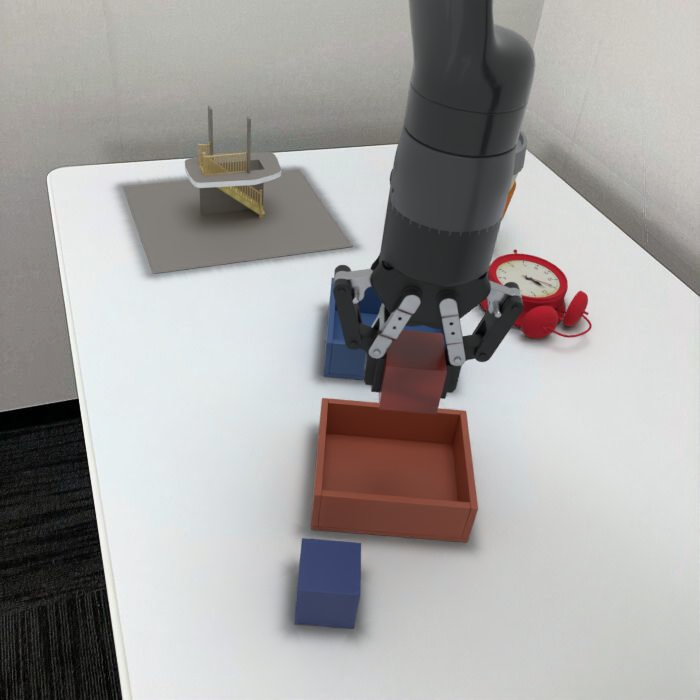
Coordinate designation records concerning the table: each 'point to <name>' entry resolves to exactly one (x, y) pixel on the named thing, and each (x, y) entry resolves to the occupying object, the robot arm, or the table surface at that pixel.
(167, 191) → the architectural model
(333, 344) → the blue bin
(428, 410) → the red block
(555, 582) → the table surface
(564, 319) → the alarm clock
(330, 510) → the terracotta bin
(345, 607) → the navy block
